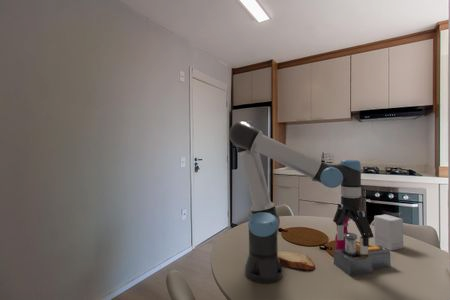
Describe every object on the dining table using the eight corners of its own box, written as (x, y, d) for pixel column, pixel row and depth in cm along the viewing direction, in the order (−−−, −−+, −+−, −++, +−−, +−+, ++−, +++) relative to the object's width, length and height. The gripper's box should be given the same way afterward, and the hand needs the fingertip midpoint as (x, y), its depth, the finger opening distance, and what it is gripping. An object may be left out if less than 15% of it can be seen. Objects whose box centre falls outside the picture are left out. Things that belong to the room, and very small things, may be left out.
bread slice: (262, 257, 107) (262, 249, 107) (295, 251, 112) (295, 244, 112) (282, 277, 89) (282, 268, 89) (320, 269, 94) (319, 261, 94)
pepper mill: (334, 250, 111) (334, 210, 111) (335, 244, 118) (334, 206, 118) (351, 253, 108) (350, 212, 108) (351, 247, 114) (350, 208, 114)
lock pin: (364, 255, 93) (364, 247, 93) (355, 249, 98) (355, 243, 98) (383, 253, 94) (383, 245, 94) (373, 247, 99) (373, 241, 99)
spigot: (350, 268, 92) (349, 237, 92) (341, 262, 97) (341, 233, 97) (360, 267, 93) (360, 236, 93) (351, 261, 98) (351, 232, 98)
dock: (350, 276, 89) (349, 258, 89) (333, 263, 99) (333, 247, 99) (395, 270, 93) (395, 253, 93) (375, 258, 102) (375, 243, 102)
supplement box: (404, 248, 112) (404, 218, 112) (391, 251, 110) (390, 220, 110) (386, 241, 121) (386, 213, 121) (374, 243, 118) (373, 215, 118)
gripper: (384, 202, 83) (384, 259, 83) (338, 190, 108) (339, 234, 108) (366, 203, 82) (367, 261, 82) (324, 191, 106) (325, 235, 106)
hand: (351, 246), depth 95 cm, fingers open, 13 cm apart
